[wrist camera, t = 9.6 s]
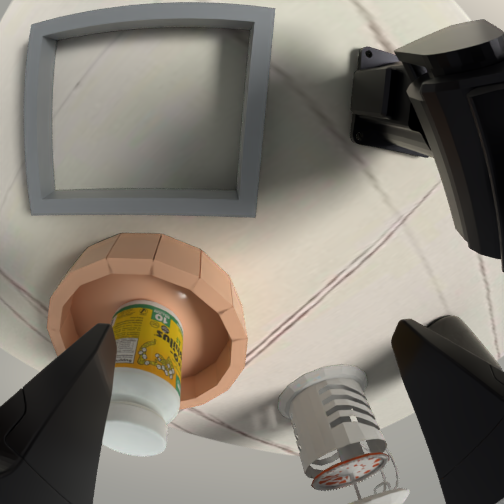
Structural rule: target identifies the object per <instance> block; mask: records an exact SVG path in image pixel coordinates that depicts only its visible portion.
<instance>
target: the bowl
mask: <svg viewBox="0 0 504 504" xmlns="http://www.w3.org/2000/svg"><path fill="white" fill-rule="evenodd" d="M134 300H149V301H153V302H157V303H159V304H161V305H163V306H165V307H166V308H168V309H170V310H171V311H173V313H174V314H175V315H176V316H177V317H178V319H179V320H180V322H181V324H182V328H183V350H182V368H181V392H180V408H179V410H180V409H185V408H190V407H194V406H199V405H202V404H205V403H206V402H208V401H210V400H212V399H213V398H215V397H217V396H219V395H220V394H222V393H224V392H225V391H227V390H228V389H229V388H230V387H231V385H232V384H233V383H234V381H235V380H236V379H237V377H238V376H239V374H240V373H241V372H242V370H243V369H244V367H245V360H246V350H247V341H248V337H247V331H246V325H245V319H244V313H243V307H242V304H241V302H240V299H239V297H238V295H237V292H236V290H235V288H234V285H233V283H232V281H231V278H230V277H229V275H228V274H227V273H226V272H225V271H224V270H222V269H221V268H220V267H219V266H218V265H217V264H216V263H215V262H214V261H213V260H212V259H211V258H210V257H209V256H208V255H206V254H205V253H204V252H203V251H202V250H201V249H198V248H196V247H193V246H191V245H188V244H186V243H184V242H181V241H179V240H176V239H174V238H171V237H169V236H166V235H164V234H162V237H161V234H148V233H121V234H117V235H115V236H113V237H110V238H108V239H106V240H103V241H101V242H98V243H96V244H94V245H92V246H89V247H87V249H86V250H85V251H84V252H83V253H82V255H81V256H80V257H79V258H78V260H77V261H76V262H75V263H74V265H73V266H72V267H71V268H70V270H69V271H68V272H67V274H66V275H65V277H64V278H63V280H62V281H61V282H60V284H59V285H58V287H57V288H56V290H55V291H54V293H53V294H52V296H51V297H50V302H49V311H48V321H47V329H48V332H49V335H50V338H51V341H52V343H53V346H54V349H55V351H56V354H57V356H59V355H60V354H61V353H63V352H64V351H65V350H66V349H67V348H68V347H70V346H71V345H72V344H73V343H74V342H76V341H77V340H78V339H79V338H80V337H82V336H83V335H84V334H85V333H86V332H88V331H89V330H90V329H91V328H92V327H94V326H95V325H96V324H98V323H107V324H110V323H111V320H112V318H113V315H114V313H115V312H116V311H117V309H118V308H120V307H121V306H122V305H123V304H125V303H128V302H130V301H134Z"/></svg>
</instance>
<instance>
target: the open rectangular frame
mask: <svg viewBox="0 0 504 504" xmlns="http://www.w3.org/2000/svg"><path fill="white" fill-rule="evenodd" d="M274 17H275V8H268V7H260V6H251V5H240V4H226V3H201V2H178V3H153V4H140V5H129V6H120V7H112V8H105V9H99V10H93V11H87V12H82V13H77V14H72V15H67V16H63V17H58V18H54V19H50V20H46V21H43V22H39V23H35V24H32V25H31V30H30V36H29V44H28V52H27V61H26V73H25V90H24V146H25V163H26V175H27V186H28V194H29V202H30V210H31V215H188V216H225V217H253V218H255V217H256V206H257V196H258V185H259V175H260V164H261V154H262V143H263V133H264V122H265V112H266V101H267V91H268V80H269V69H270V59H271V48H272V38H273V27H274ZM162 27H211V28H230V29H243V30H250V37H249V47H248V58H247V68H246V79H245V90H244V102H243V113H242V125H241V137H240V149H239V162H238V175H237V189H236V190H212V189H165V188H120V189H75V190H55V181H54V168H53V149H52V95H53V76H54V64H55V53H56V44H57V40H62V39H67V38H72V37H77V36H83V35H89V34H96V33H103V32H111V31H120V30H130V29H143V28H162Z"/></svg>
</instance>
